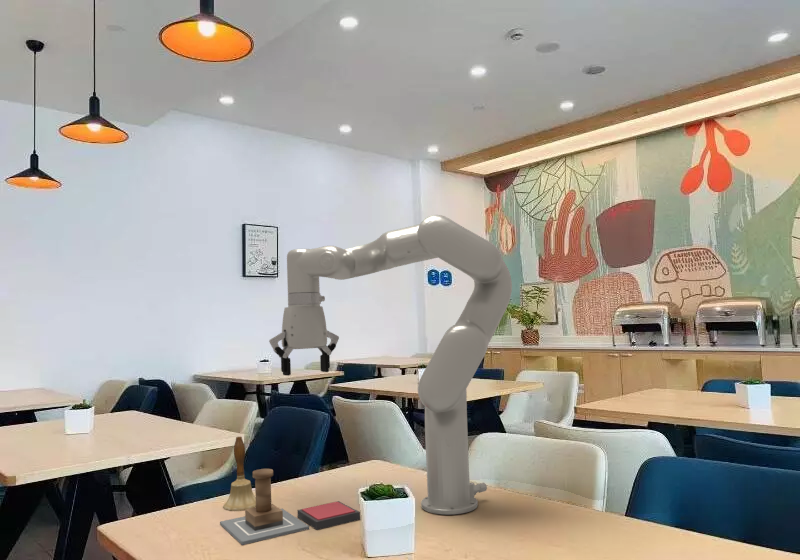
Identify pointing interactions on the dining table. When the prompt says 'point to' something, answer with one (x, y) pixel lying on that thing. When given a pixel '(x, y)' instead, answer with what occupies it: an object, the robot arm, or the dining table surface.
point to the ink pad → (328, 515)
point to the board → (248, 535)
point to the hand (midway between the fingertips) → (306, 373)
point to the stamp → (263, 503)
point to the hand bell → (240, 483)
